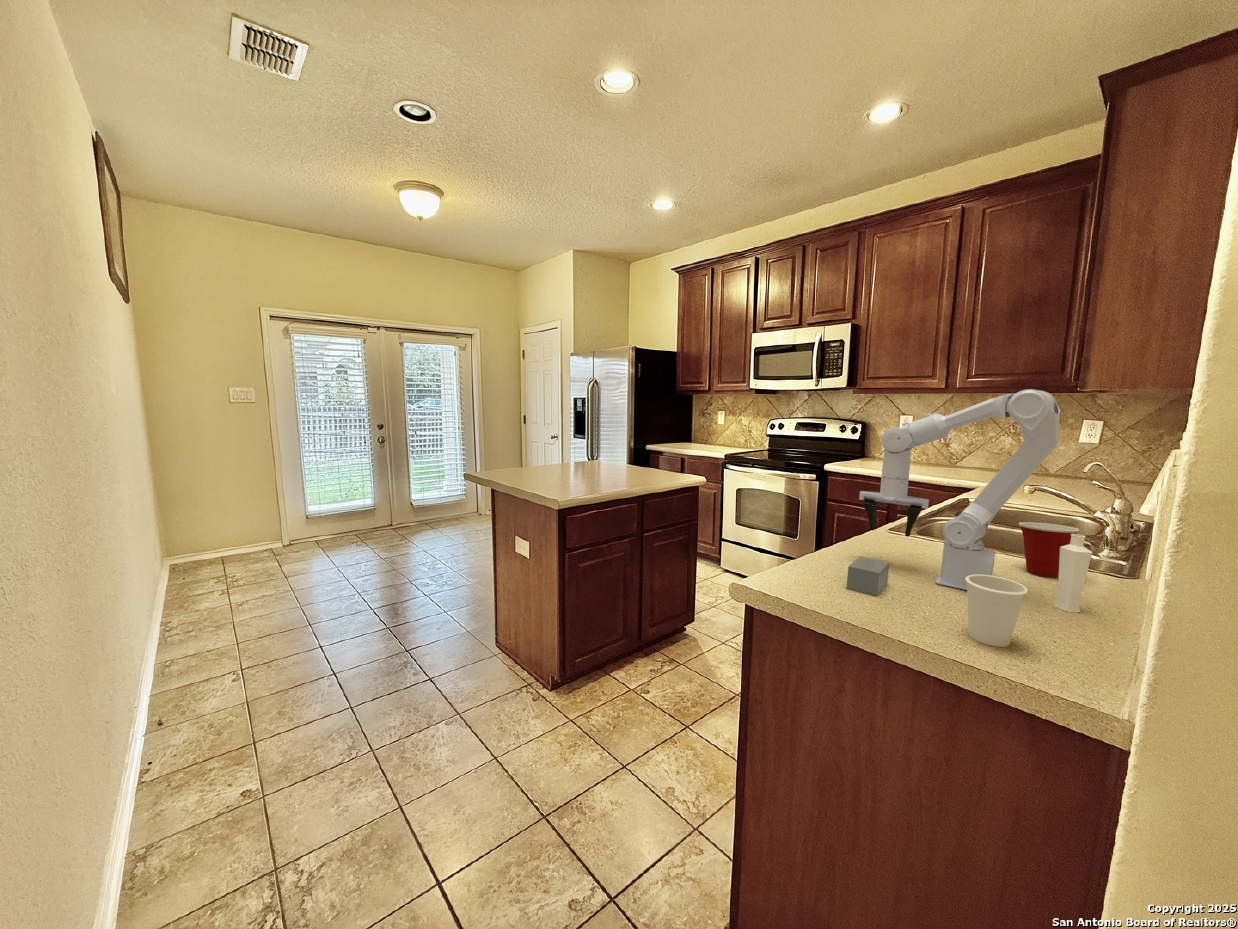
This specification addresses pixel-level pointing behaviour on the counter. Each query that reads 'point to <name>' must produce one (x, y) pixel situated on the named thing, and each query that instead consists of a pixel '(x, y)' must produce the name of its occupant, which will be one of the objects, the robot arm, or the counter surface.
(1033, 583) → the counter surface
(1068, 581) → the perfume bottle
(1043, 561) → the plastic cup
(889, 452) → the robot arm
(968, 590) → the dixie cup
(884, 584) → the gray block
